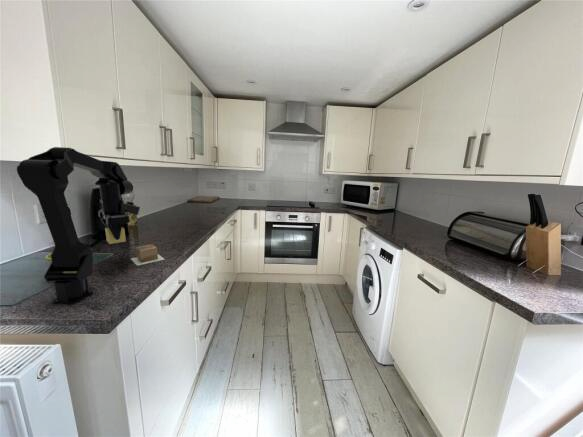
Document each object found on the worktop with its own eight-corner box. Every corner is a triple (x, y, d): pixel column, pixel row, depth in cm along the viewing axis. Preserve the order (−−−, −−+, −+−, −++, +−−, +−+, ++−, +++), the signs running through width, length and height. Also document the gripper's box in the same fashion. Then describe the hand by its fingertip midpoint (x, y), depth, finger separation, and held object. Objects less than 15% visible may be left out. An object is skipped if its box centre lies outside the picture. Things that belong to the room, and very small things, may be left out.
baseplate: (164, 260, 98) (164, 259, 98) (137, 267, 91) (137, 265, 91) (156, 254, 105) (156, 253, 105) (130, 259, 98) (130, 258, 98)
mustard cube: (125, 241, 89) (124, 228, 88) (109, 244, 85) (107, 230, 84) (122, 238, 92) (121, 226, 91) (106, 240, 89) (105, 228, 88)
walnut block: (157, 259, 98) (157, 247, 97) (141, 262, 94) (140, 250, 93) (153, 255, 102) (152, 244, 101) (137, 258, 98) (136, 247, 97)
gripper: (143, 198, 85) (147, 239, 88) (129, 193, 97) (133, 229, 100) (105, 200, 77) (111, 245, 80) (95, 195, 89) (100, 234, 92)
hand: (115, 237), depth 88 cm, fingers closed on mustard cube, 5 cm apart
